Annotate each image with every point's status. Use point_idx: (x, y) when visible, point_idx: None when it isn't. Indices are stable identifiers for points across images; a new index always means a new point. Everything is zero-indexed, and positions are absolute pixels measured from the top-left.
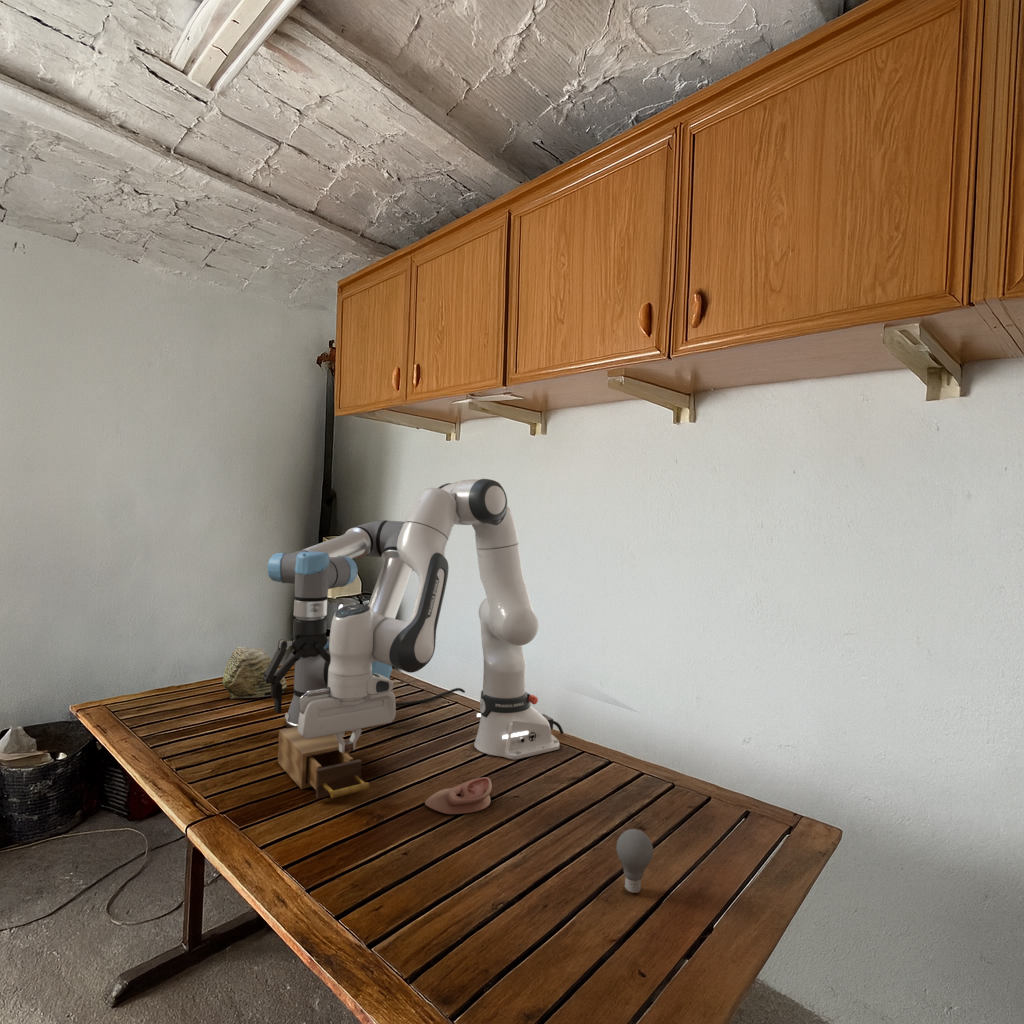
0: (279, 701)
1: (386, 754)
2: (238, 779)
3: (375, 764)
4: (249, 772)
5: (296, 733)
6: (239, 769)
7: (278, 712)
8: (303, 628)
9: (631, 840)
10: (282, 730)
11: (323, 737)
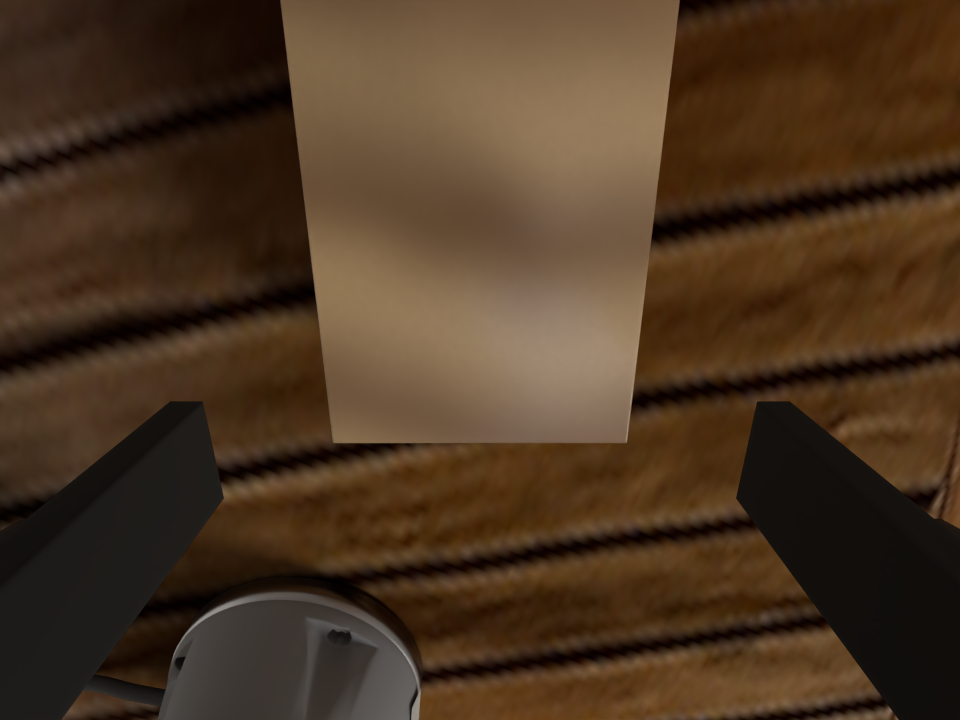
0: (854, 467)
1: (59, 179)
2: (801, 280)
3: (148, 77)
4: (729, 328)
5: (558, 334)
6: (748, 380)
7: (789, 403)
8: None
9: None
10: (613, 425)
11: (421, 157)
